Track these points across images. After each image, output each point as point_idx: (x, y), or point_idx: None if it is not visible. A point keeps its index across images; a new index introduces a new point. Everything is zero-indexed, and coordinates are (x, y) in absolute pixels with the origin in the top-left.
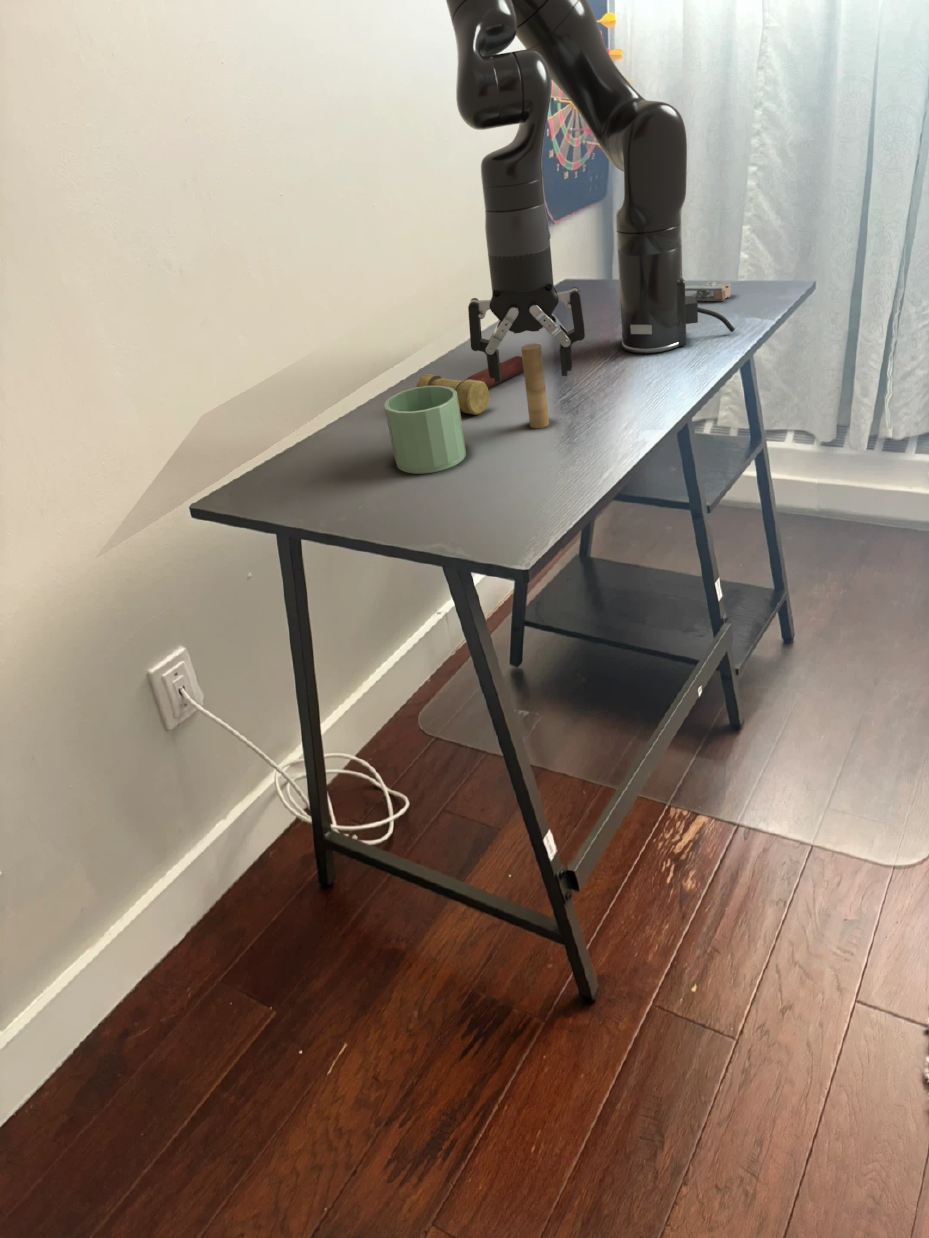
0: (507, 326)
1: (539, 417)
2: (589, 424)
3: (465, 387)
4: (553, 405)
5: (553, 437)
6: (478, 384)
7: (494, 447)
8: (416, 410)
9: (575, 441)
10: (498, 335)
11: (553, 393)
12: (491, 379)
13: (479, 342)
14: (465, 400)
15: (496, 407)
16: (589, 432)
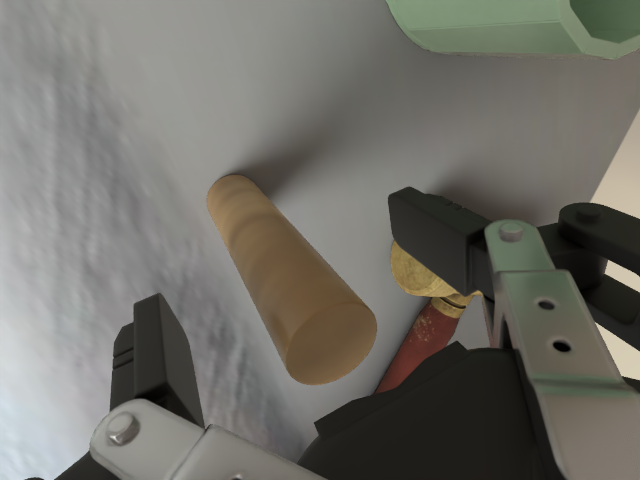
0: (540, 341)
1: (228, 189)
2: (68, 225)
3: None
4: (244, 314)
5: (147, 114)
6: (436, 275)
7: (311, 28)
8: (584, 20)
9: (39, 80)
10: (542, 278)
11: (269, 367)
12: (408, 353)
13: (590, 232)
14: None
15: (369, 276)
16: (28, 164)
